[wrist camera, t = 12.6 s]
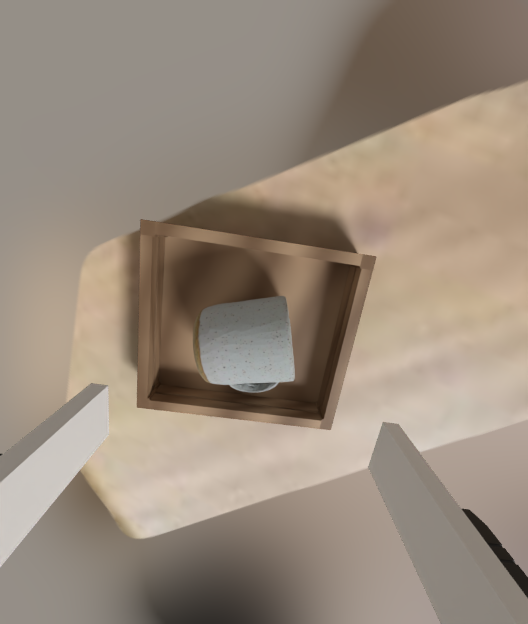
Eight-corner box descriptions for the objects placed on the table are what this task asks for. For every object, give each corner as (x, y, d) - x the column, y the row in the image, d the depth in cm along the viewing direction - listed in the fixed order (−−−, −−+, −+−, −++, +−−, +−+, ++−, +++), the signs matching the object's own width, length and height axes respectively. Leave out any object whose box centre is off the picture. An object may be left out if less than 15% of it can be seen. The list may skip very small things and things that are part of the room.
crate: (358, 254, 25) (376, 256, 21) (321, 406, 30) (330, 430, 26) (159, 223, 24) (140, 219, 20) (153, 385, 29) (136, 407, 25)
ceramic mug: (202, 298, 25) (179, 323, 18) (283, 287, 25) (293, 308, 18) (222, 389, 28) (208, 442, 21) (293, 379, 28) (306, 430, 21)
